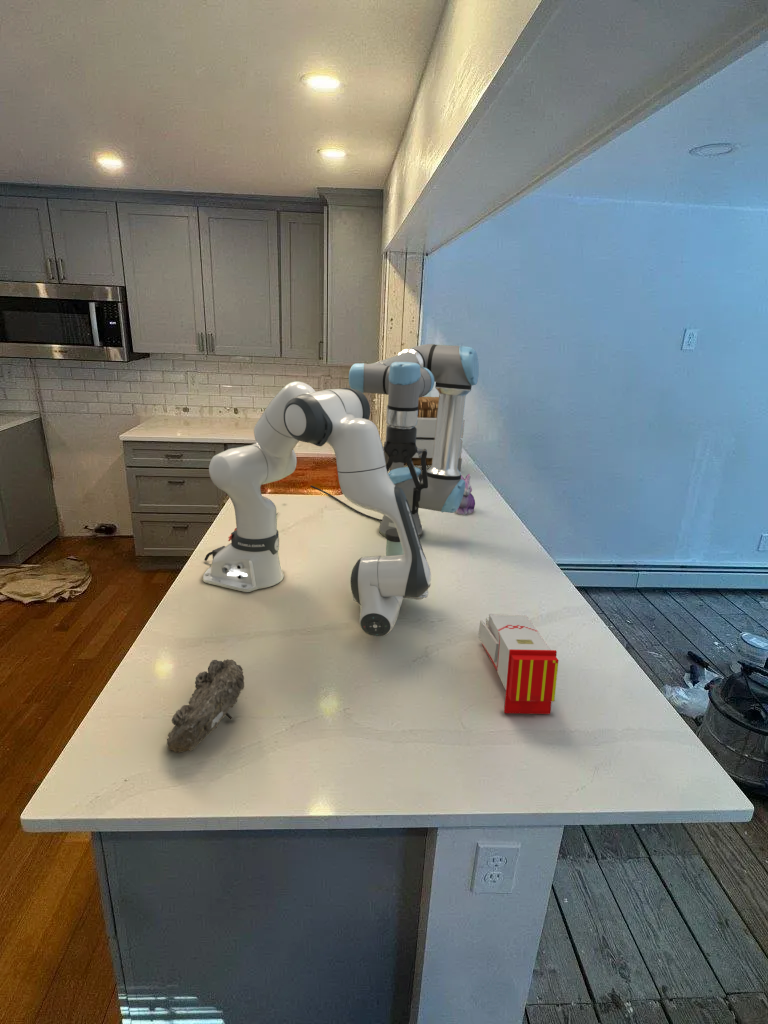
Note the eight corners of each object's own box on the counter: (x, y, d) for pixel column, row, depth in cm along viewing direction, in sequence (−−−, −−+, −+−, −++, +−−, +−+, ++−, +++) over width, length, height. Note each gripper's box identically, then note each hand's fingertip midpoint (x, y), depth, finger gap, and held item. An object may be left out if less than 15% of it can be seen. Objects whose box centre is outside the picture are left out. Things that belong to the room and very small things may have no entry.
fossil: (192, 660, 117) (244, 628, 112) (224, 691, 120) (276, 661, 115) (142, 746, 98) (202, 712, 93) (182, 779, 101) (242, 748, 96)
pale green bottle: (387, 588, 161) (390, 529, 155) (404, 591, 159) (407, 532, 153) (381, 595, 156) (384, 535, 150) (398, 599, 155) (402, 538, 149)
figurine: (461, 516, 219) (465, 479, 214) (447, 508, 227) (450, 472, 222) (481, 513, 223) (485, 477, 218) (466, 505, 231) (469, 470, 226)
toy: (524, 600, 137) (567, 656, 108) (520, 651, 140) (560, 720, 111) (474, 599, 137) (504, 655, 107) (471, 650, 140) (498, 719, 110)
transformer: (382, 463, 289) (386, 382, 275) (445, 464, 293) (451, 384, 279) (390, 482, 257) (394, 392, 243) (460, 483, 261) (468, 394, 247)
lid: (389, 532, 156) (389, 526, 155) (409, 535, 154) (409, 530, 153) (382, 540, 150) (382, 534, 150) (403, 543, 149) (403, 537, 148)
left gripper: (428, 587, 141) (432, 564, 154) (347, 578, 144) (359, 556, 157) (426, 609, 143) (431, 585, 156) (347, 600, 146) (358, 576, 159)
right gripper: (442, 425, 145) (436, 509, 153) (362, 421, 146) (359, 504, 154) (443, 431, 138) (436, 519, 146) (359, 426, 139) (356, 513, 146)
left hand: (394, 570), depth 157 cm, fingers closed on pale green bottle, 5 cm apart
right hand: (397, 511), depth 150 cm, fingers open, 8 cm apart
